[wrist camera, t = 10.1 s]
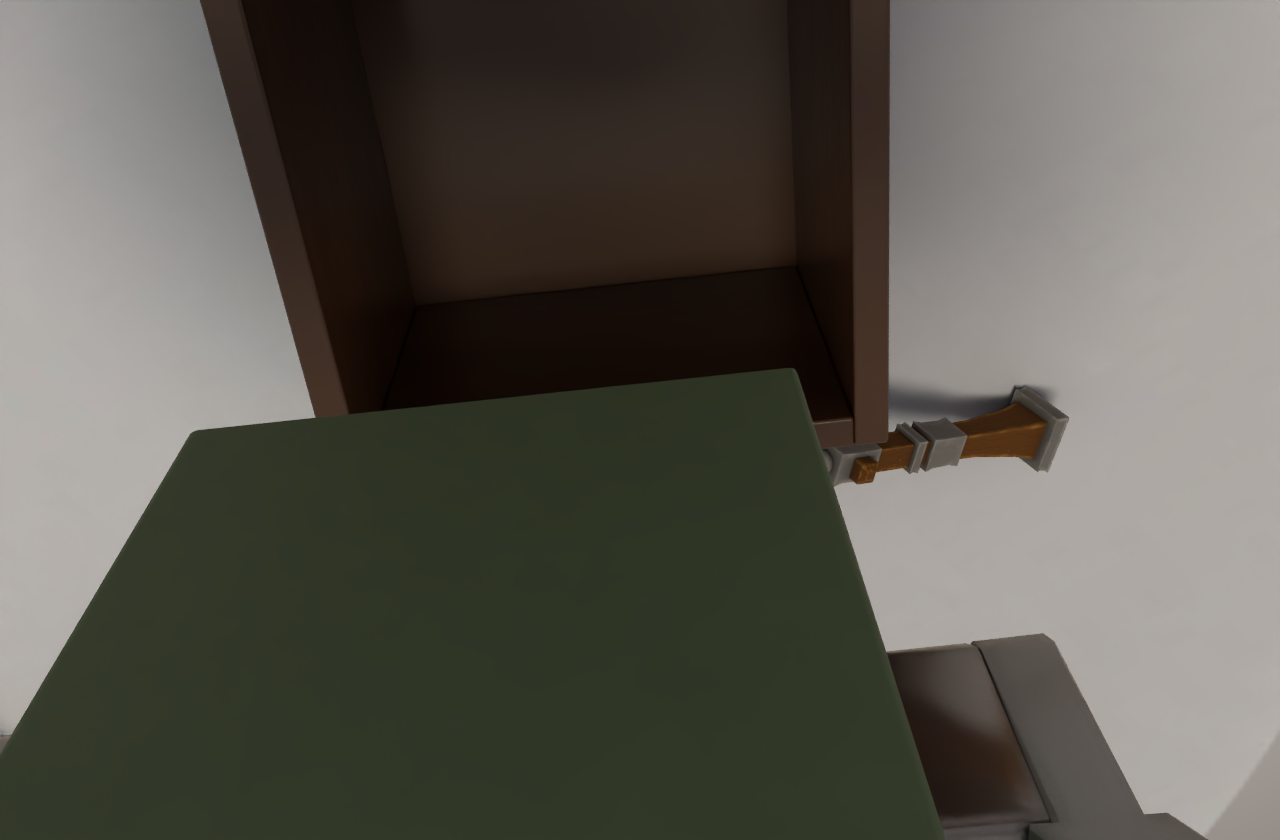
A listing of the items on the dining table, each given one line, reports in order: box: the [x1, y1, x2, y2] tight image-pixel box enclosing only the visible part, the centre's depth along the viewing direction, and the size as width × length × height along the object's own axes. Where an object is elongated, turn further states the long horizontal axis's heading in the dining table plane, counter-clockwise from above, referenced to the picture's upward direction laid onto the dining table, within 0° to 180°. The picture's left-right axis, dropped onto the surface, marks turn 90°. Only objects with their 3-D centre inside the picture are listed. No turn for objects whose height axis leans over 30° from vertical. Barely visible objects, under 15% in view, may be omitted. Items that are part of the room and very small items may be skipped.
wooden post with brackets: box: [822, 386, 1069, 487], centre depth 32 cm, size 2×8×4 cm, turn 81°
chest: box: [200, 0, 890, 449], centre depth 24 cm, size 15×11×9 cm
